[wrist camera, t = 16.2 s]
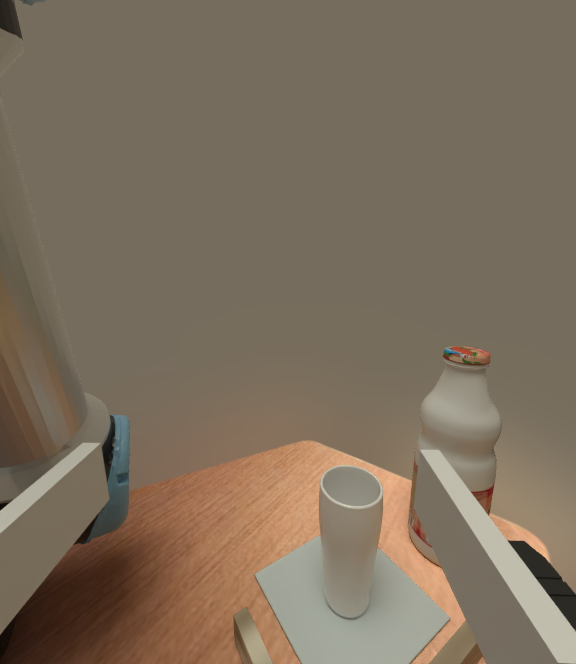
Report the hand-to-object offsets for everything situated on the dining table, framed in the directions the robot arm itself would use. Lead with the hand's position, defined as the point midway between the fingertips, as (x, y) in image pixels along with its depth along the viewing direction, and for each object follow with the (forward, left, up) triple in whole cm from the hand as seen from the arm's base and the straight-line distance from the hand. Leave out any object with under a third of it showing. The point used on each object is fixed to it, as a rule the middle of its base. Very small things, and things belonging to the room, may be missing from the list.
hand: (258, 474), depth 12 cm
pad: (-10, +16, -30) cm, 35 cm away
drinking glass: (-10, +16, -30) cm, 35 cm away
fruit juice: (-8, +33, -30) cm, 45 cm away
